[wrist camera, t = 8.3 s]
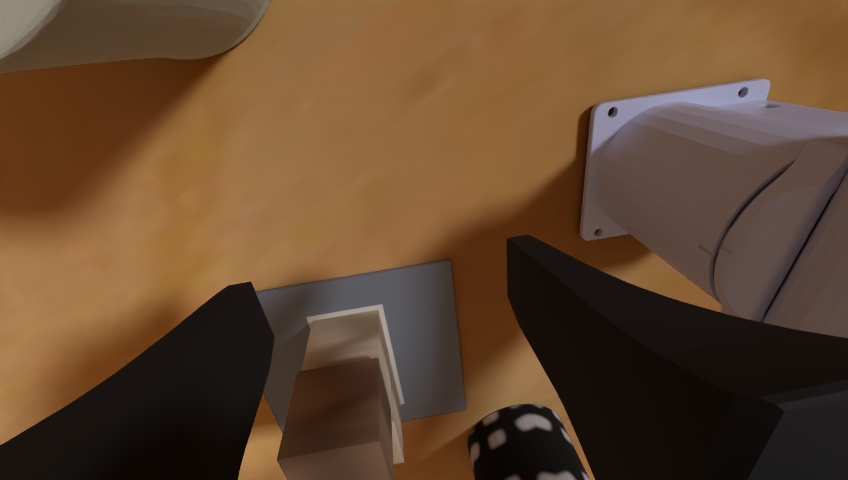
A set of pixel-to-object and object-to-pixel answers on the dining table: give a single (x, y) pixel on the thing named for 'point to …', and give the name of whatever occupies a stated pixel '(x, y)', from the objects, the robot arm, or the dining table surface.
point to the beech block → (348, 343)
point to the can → (119, 30)
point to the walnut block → (338, 425)
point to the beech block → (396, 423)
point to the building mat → (402, 324)
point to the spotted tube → (523, 446)
